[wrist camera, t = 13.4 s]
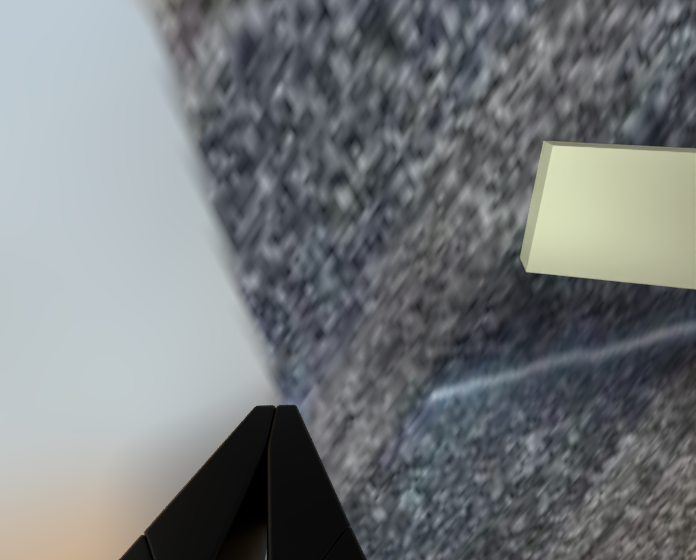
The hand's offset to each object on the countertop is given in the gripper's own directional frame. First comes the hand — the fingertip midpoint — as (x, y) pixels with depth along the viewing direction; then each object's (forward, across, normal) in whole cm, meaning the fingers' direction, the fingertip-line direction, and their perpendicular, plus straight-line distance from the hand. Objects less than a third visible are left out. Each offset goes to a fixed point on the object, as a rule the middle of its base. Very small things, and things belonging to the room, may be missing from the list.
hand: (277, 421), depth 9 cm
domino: (+6, -8, -3) cm, 11 cm away
